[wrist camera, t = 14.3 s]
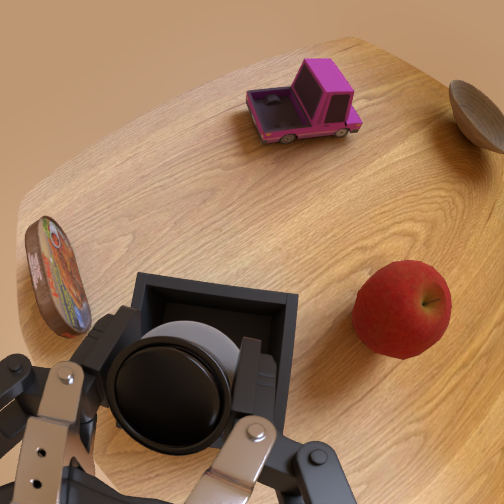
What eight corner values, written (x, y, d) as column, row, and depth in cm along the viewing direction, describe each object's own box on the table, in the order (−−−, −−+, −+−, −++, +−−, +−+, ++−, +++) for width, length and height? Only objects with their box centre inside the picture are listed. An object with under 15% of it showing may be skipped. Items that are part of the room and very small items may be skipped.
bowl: (495, 135, 51) (513, 116, 43) (496, 187, 45) (520, 168, 38) (436, 89, 53) (451, 67, 45) (428, 134, 47) (448, 107, 39)
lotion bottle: (249, 359, 27) (305, 375, 8) (214, 408, 25) (195, 517, 6) (198, 324, 27) (142, 262, 9) (163, 372, 26) (45, 404, 7)
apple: (367, 263, 38) (426, 220, 25) (418, 312, 36) (489, 290, 23) (319, 324, 35) (369, 307, 22) (376, 375, 33) (445, 380, 20)
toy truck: (357, 141, 44) (380, 99, 35) (263, 154, 42) (272, 105, 32) (330, 95, 47) (346, 53, 38) (243, 103, 45) (247, 55, 35)
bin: (145, 408, 30) (115, 427, 21) (161, 293, 35) (137, 271, 25) (266, 426, 31) (279, 453, 21) (279, 309, 35) (298, 294, 26)
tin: (99, 334, 33) (66, 328, 25) (79, 343, 32) (43, 339, 24) (68, 229, 36) (38, 202, 28) (51, 239, 36) (19, 214, 28)
